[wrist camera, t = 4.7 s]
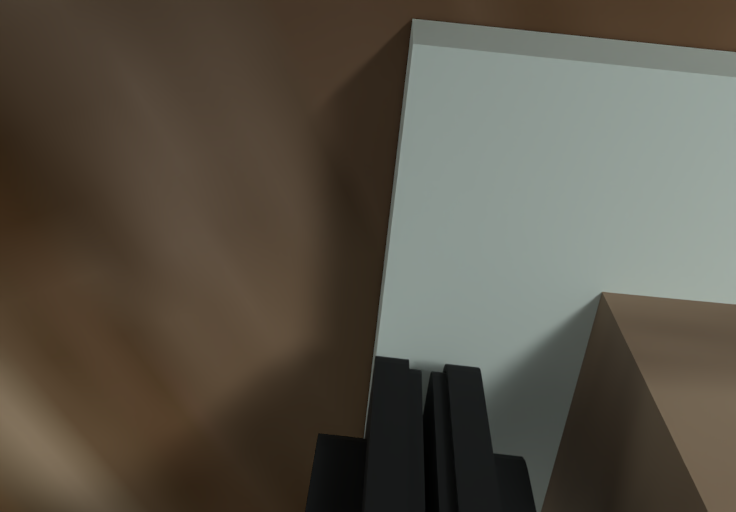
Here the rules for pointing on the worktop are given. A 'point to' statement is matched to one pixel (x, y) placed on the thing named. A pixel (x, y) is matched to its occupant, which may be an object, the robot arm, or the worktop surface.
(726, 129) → the board
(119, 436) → the worktop surface
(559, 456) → the block
